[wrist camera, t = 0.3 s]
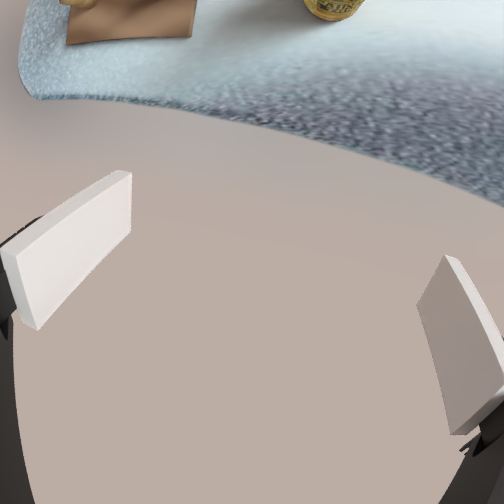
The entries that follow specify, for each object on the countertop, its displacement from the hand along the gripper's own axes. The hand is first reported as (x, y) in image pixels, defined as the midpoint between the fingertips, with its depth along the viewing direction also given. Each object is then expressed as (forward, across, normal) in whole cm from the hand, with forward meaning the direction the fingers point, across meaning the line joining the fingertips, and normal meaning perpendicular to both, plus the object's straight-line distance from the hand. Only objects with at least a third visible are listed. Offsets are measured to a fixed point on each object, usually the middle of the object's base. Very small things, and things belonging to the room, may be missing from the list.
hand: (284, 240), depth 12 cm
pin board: (+27, -25, +15) cm, 40 cm away
